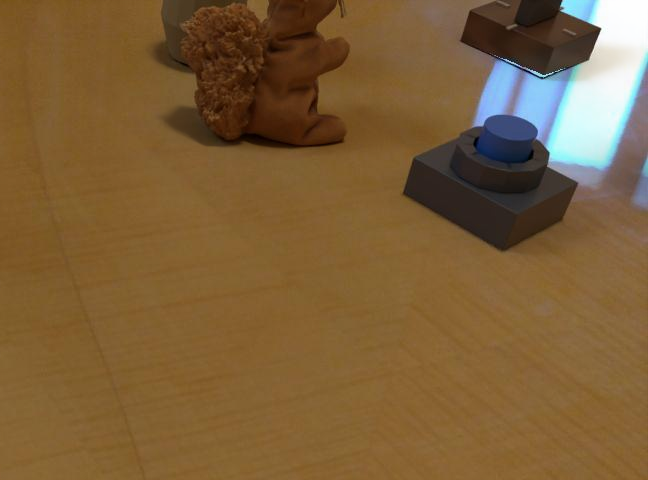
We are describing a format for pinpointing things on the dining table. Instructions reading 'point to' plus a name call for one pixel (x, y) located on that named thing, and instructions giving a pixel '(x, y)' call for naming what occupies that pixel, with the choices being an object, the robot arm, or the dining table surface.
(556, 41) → the panel
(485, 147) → the blue push button
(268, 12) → the stuffed squirrel
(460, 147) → the push button base
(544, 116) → the dining table surface
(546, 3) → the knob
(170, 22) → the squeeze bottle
